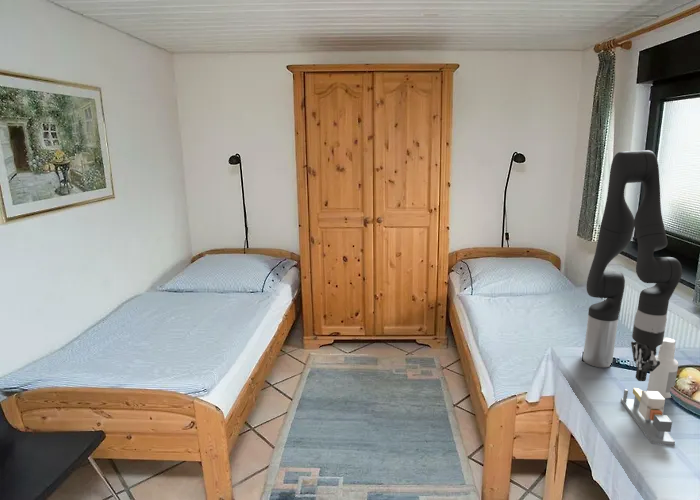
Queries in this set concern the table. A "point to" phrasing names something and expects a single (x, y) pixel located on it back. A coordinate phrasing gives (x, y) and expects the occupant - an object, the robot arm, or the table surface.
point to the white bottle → (664, 369)
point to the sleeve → (651, 403)
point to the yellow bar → (656, 415)
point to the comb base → (645, 422)
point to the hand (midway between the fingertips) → (640, 379)
